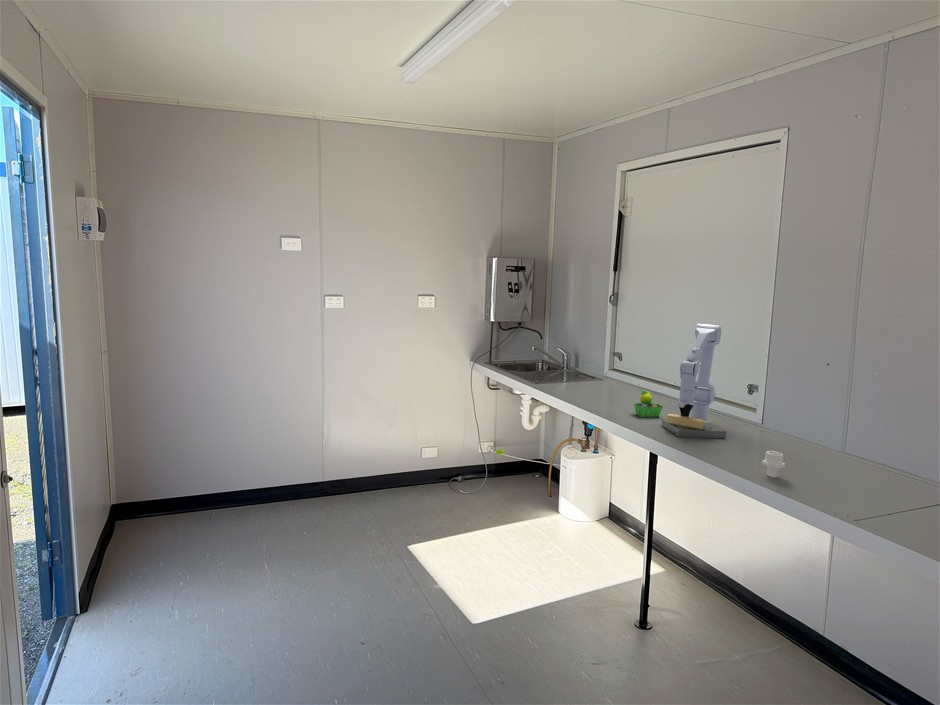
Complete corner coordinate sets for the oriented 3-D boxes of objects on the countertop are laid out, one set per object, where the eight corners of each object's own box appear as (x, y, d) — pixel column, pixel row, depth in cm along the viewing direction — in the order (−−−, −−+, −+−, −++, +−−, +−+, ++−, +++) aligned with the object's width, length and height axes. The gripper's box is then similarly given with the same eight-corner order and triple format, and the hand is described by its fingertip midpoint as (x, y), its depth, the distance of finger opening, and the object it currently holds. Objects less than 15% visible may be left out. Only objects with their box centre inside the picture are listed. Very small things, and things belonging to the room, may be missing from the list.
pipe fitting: (758, 475, 213) (761, 452, 212) (765, 471, 218) (768, 448, 217) (778, 480, 209) (781, 457, 207) (785, 476, 214) (788, 453, 213)
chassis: (661, 425, 274) (662, 417, 274) (705, 426, 276) (706, 418, 275) (678, 437, 256) (679, 429, 255) (726, 438, 258) (727, 430, 257)
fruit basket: (640, 418, 286) (642, 393, 285) (631, 413, 295) (633, 389, 293) (662, 417, 289) (665, 393, 287) (653, 412, 297) (655, 389, 296)
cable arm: (712, 428, 258) (713, 421, 258) (710, 430, 255) (710, 423, 255) (669, 420, 269) (670, 413, 268) (666, 422, 266) (666, 415, 265)
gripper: (692, 393, 255) (689, 426, 257) (701, 388, 267) (698, 419, 269) (674, 391, 259) (671, 423, 261) (684, 385, 271) (681, 416, 273)
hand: (684, 421), depth 265 cm, fingers closed, pressing on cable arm
